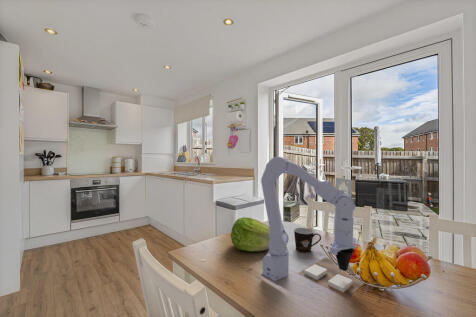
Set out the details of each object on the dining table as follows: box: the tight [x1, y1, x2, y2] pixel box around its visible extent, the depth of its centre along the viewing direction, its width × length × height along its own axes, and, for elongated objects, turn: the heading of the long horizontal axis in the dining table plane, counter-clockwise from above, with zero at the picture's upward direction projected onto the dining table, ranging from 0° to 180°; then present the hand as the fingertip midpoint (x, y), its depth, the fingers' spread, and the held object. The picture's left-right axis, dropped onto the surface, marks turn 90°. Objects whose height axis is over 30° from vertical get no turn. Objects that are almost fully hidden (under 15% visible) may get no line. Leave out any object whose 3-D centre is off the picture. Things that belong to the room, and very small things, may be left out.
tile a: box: [303, 263, 327, 280], centre depth 79 cm, size 2×5×7 cm
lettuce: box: [230, 216, 270, 253], centre depth 104 cm, size 17×24×14 cm
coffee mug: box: [293, 227, 322, 254], centre depth 99 cm, size 12×9×10 cm
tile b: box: [328, 274, 353, 293], centre depth 72 cm, size 2×5×7 cm
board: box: [297, 257, 365, 299], centre depth 79 cm, size 20×18×1 cm
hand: (343, 269), depth 73 cm, fingers closed
